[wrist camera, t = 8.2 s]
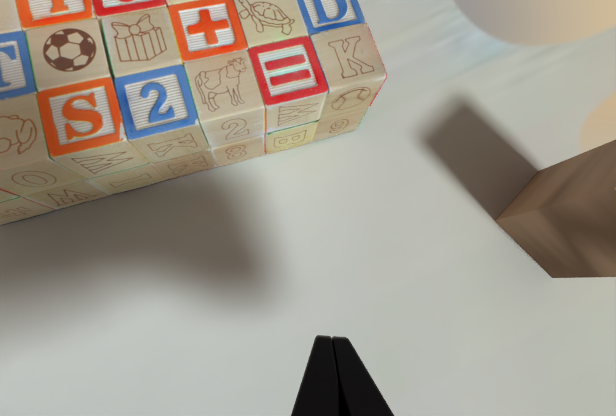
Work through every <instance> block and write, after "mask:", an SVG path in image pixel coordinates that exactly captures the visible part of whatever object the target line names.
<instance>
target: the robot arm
mask: <svg viewBox="0 0 616 416" xmlns="http://www.w3.org/2000/svg"><path fill="white" fill-rule="evenodd" d="M291 416H394V415H393V413H392V411H391V410H390V408H389V406H388V405H387V403H386V401H385V399H384V398H383V396H382V394H381V393H380V391H379V389H378V388H377V386H376V384H375V383H374V381H373V379H372V378H371V376H370V374H369V373H368V371H367V369H366V368H365V366H364V364H363V362H362V361H361V359H360V357H359V356H358V354H357V352H356V351H355V349H354V347H353V346H352V344H351V342H350V341H349V339H348V338H346V337H336V336H334V337H332V338H331V337H330V336H322V335H317V336H316V338H315V341H314V344H313V347H312V350H311V354H310V357H309V360H308V363H307V366H306V369H305V373H304V376H303V379H302V382H301V385H300V389H299V392H298V395H297V398H296V401H295V405H294V408H293V411H292V414H291Z"/></svg>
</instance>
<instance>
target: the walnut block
mask: <svg viewBox="0 0 616 416" xmlns="http://www.w3.org/2000/svg"><path fill="white" fill-rule="evenodd" d="M495 222H496V223H497V224H498V225H499V226H500V227H501V228H502V229H503V230H504V231H505V232H506V233H507V234H508V235H509V236H511V237H512V238H513V239H514V240H515V241H516V242H517V243H518V244H519V245H520V246H521V247H522V248H523V249H524V250H525V251H526V252H527V253H528V254H529V255H530V256H531V257H532V258H533V259H534V260H535V261H536V262H537V263H538V264H539V265H540V266H541V267H542V268H543V269H544V270H545V271H546V272H547V273H548V274H549V275H550V276H551V277H552V278H575V277H616V140H614V141H612V142H609V143H607V144H604V145H602V146H599V147H597V148H594V149H592V150H589V151H587V152H585V153H582V154H580V155H577V156H575V157H572V158H570V159H567V160H565V161H562V162H560V163H558V164H555V165H553V166H550V167H548V168H545V169H543V170H540V171H538V173H537V174H536V175H535V176H534V177H533V178H532V179H531V180H530V182H529V183H528V184H527V185H526V186H525V187H524V188H523V190H522V191H521V192H520V193H519V194H518V195H517V196H516V197H515V199H514V200H513V201H512V202H511V203H510V204H509V205H508V207H507V208H506V209H505V210H504V211H503V212H502V213H501V214H500V216H499V217H498V218H497V219H496V220H495Z"/></svg>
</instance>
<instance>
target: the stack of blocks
mask: <svg viewBox="0 0 616 416" xmlns="http://www.w3.org/2000/svg"><path fill="white" fill-rule="evenodd" d="M386 78H387V73H386V70H385V67H384V64H383V62H382V60H381V57H380V55H379V52H378V50H377V48H376V45H375V42H374V40H373V37H372V35H371V32H370V29H369V27H368V26H367V23H365V20H364V17H363V14H362V11H361V8H360V6H359V3H358V1H357V0H0V225H2V224H6V223H10V222H13V221H17V220H21V219H25V218H29V217H32V216H36V215H40V214H44V213H47V212H51V211H54V210H56V209H61V208H65V207H69V206H72V205H76V204H80V203H84V202H87V201H91V200H95V199H99V198H102V197H106V196H110V195H112V194H113V193H121V192H124V191H128V190H132V189H136V188H139V187H143V186H147V185H150V184H154V183H157V182H161V181H164V180H168V179H173V178H177V177H180V176H184V175H188V174H192V173H195V172H198V171H202V170H208V169H211V168H215V167H221V166H225V165H229V164H233V163H236V162H240V161H244V160H248V159H251V158H255V157H258V156H262V155H265V154H269V153H274V152H278V151H281V150H285V149H289V148H292V147H296V146H300V145H304V144H307V143H310V142H312V141H317V140H320V139H324V138H328V137H331V136H335V135H339V134H343V133H346V132H350V131H353V130H356V129H357V127H358V126H359V124H360V122H361V120H362V118H363V117H364V115H365V113H366V111H367V109H368V107H369V106H370V105H371V104H372V102H373V100H374V99H375V97H376V95H377V94H378V92H379V90H380V89H381V87H382V85H383V83H384V81H385V80H386Z"/></svg>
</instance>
